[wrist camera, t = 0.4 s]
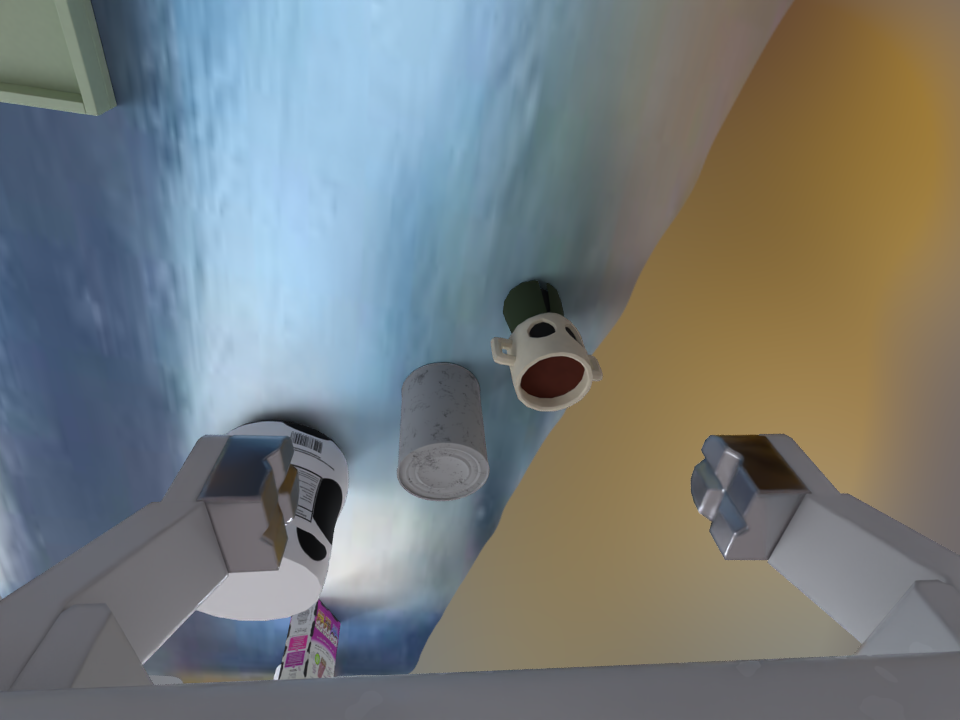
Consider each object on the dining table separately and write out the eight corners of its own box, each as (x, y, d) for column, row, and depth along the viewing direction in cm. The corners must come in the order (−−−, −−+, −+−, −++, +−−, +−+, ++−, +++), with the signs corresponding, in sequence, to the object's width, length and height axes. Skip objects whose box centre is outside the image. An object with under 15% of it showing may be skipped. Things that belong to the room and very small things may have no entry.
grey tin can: (478, 359, 59) (488, 438, 50) (481, 416, 65) (490, 497, 56) (396, 365, 59) (390, 447, 49) (406, 422, 65) (403, 504, 56)
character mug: (590, 285, 54) (627, 364, 44) (564, 337, 58) (592, 420, 48) (492, 263, 51) (509, 341, 41) (473, 319, 56) (483, 402, 46)
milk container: (239, 499, 72) (195, 632, 58) (192, 413, 61) (123, 552, 47) (362, 488, 73) (347, 617, 59) (337, 402, 62) (312, 535, 48)
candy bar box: (292, 601, 92) (270, 707, 79) (318, 597, 91) (301, 702, 79) (317, 627, 99) (300, 727, 86) (341, 623, 99) (329, 723, 86)
